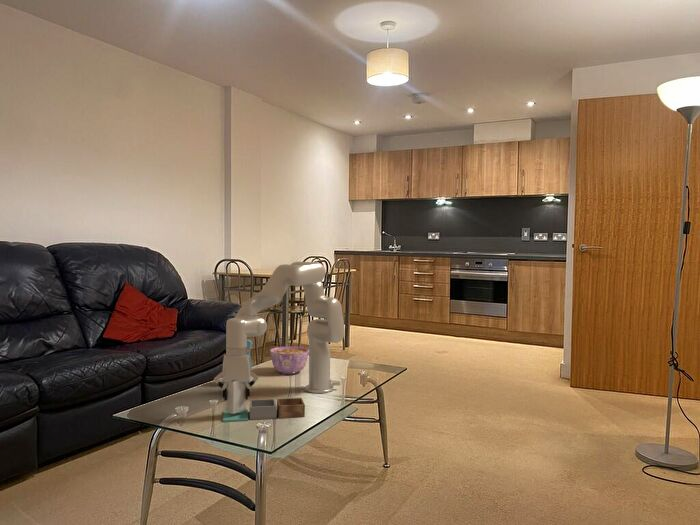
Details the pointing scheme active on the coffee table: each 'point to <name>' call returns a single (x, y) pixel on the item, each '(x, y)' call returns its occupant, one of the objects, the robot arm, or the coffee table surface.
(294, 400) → the walnut bin
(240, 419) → the teal pad
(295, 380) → the coffee table surface
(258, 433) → the coffee table surface
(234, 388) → the skincare box
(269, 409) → the grey bin
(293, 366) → the bowl of food
